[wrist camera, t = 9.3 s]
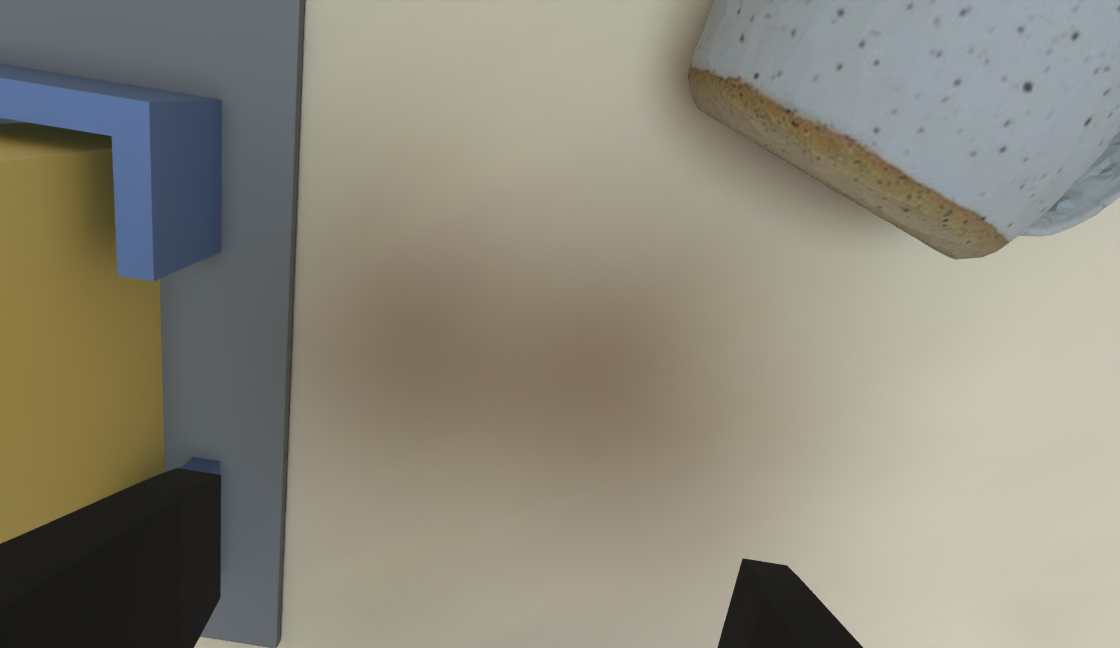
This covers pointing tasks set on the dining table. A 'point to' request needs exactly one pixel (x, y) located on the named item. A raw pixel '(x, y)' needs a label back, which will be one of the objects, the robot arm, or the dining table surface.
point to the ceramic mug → (929, 107)
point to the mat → (227, 277)
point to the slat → (70, 334)
